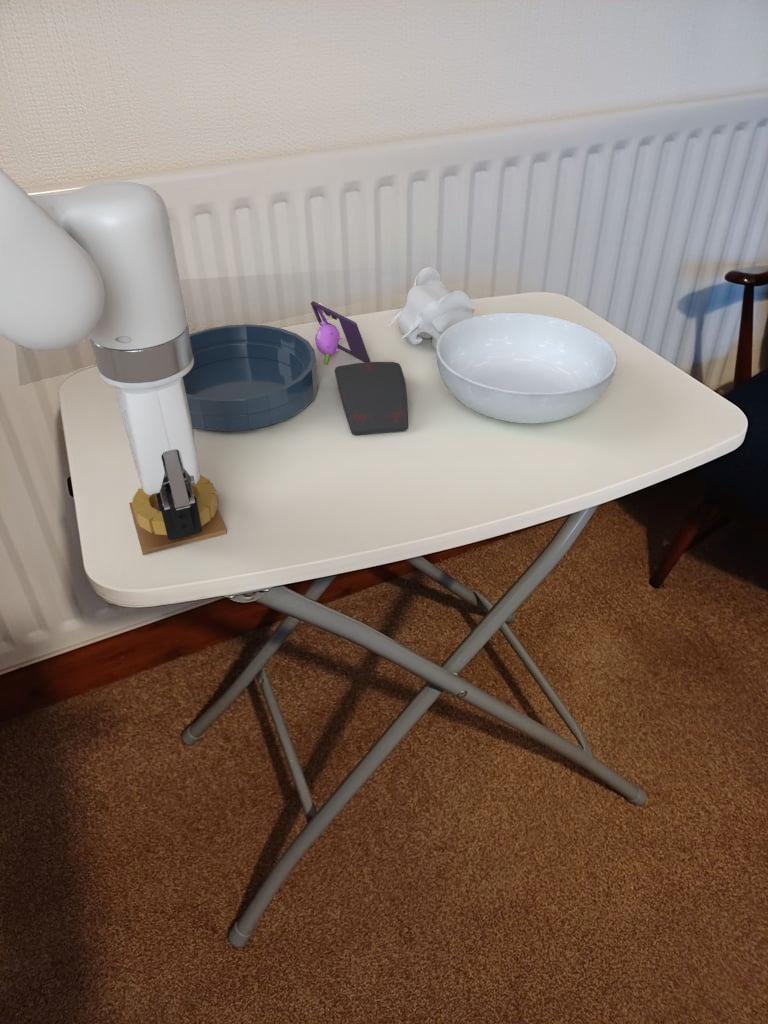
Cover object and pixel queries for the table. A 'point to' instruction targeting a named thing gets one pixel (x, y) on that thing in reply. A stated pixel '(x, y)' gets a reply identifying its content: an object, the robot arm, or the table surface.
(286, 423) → the table surface
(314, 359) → the bowl
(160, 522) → the ring
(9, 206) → the robot arm
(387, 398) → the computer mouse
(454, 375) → the serving bowl
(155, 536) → the coaster
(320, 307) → the purple piece
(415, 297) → the elephant figurine
